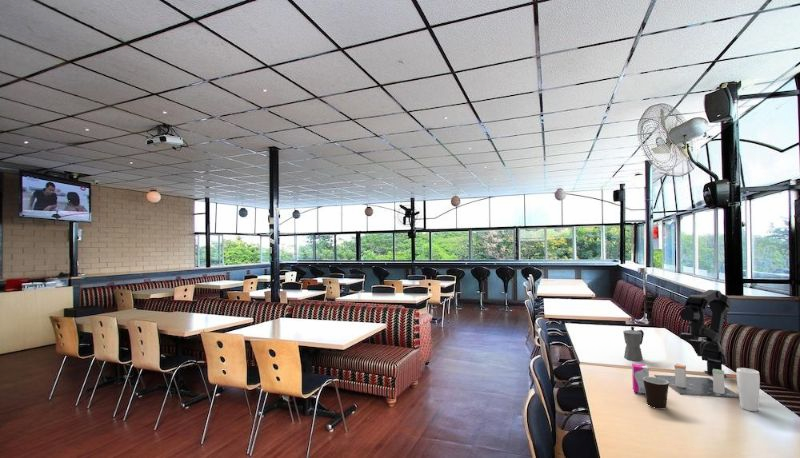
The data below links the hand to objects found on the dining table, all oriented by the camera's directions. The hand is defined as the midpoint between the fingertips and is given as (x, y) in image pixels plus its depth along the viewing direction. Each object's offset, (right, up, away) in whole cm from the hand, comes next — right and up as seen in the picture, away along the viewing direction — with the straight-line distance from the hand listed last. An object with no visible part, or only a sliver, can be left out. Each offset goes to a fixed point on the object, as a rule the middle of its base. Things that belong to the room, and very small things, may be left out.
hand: (699, 356), depth 181 cm
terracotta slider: (-14, -12, -7) cm, 20 cm away
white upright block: (-3, -12, -14) cm, 19 cm away
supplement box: (-35, -12, -12) cm, 39 cm away
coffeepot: (-7, -14, +38) cm, 41 cm away
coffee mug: (-36, -11, -26) cm, 46 cm away
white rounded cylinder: (-4, -11, -30) cm, 32 cm away
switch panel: (-6, -12, -5) cm, 14 cm away
